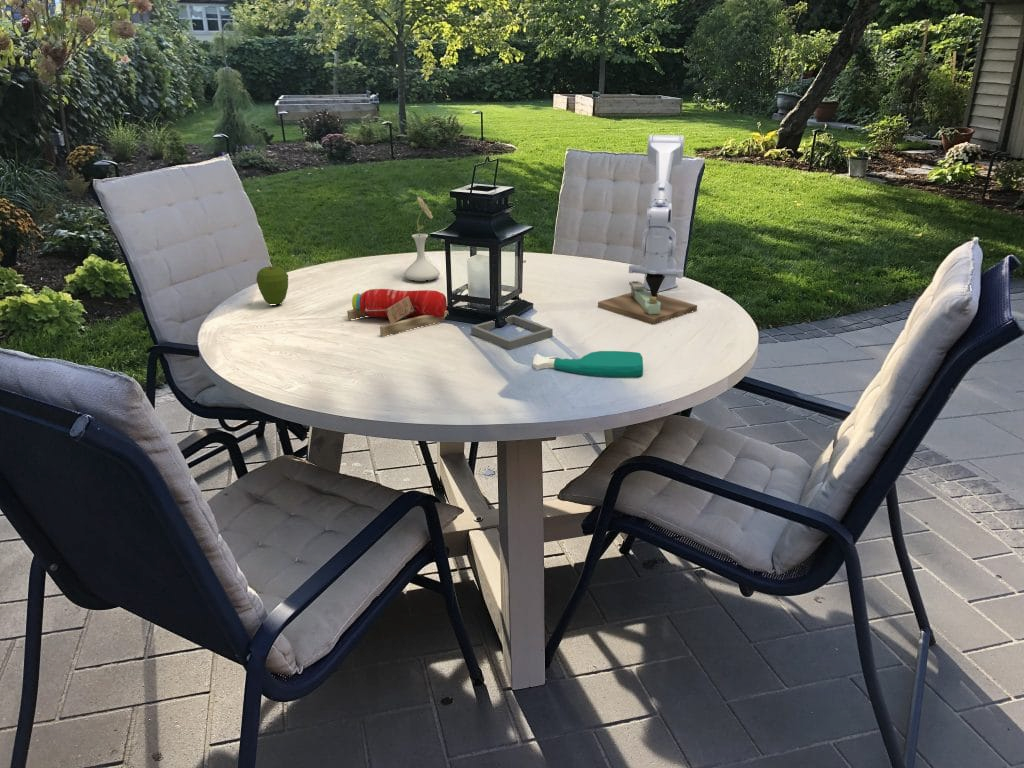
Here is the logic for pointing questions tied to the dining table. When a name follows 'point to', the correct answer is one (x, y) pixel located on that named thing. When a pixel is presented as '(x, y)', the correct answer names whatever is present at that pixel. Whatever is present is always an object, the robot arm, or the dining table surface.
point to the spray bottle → (596, 364)
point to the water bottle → (400, 303)
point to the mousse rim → (539, 334)
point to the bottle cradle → (400, 322)
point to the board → (634, 310)
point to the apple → (273, 284)
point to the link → (647, 301)
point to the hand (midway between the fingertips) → (653, 300)
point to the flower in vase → (421, 254)
